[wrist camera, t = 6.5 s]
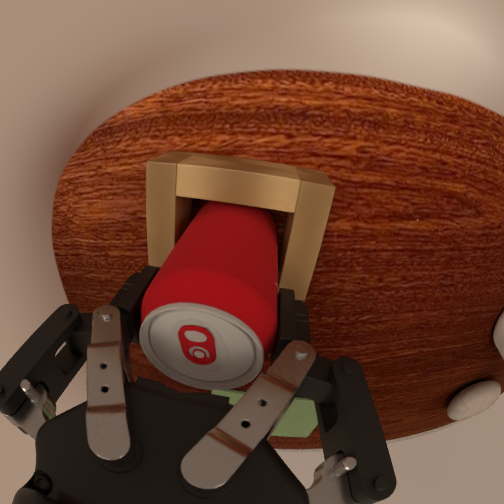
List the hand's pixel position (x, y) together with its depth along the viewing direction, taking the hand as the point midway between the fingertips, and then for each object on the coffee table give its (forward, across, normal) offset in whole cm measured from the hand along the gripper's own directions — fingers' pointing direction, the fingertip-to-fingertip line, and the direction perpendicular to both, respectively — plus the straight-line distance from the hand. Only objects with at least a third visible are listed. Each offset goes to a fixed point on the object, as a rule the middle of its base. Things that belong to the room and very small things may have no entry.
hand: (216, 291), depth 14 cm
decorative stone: (+8, -43, +22) cm, 49 cm away
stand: (+8, 0, 0) cm, 8 cm away
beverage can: (+8, 0, 0) cm, 8 cm away
